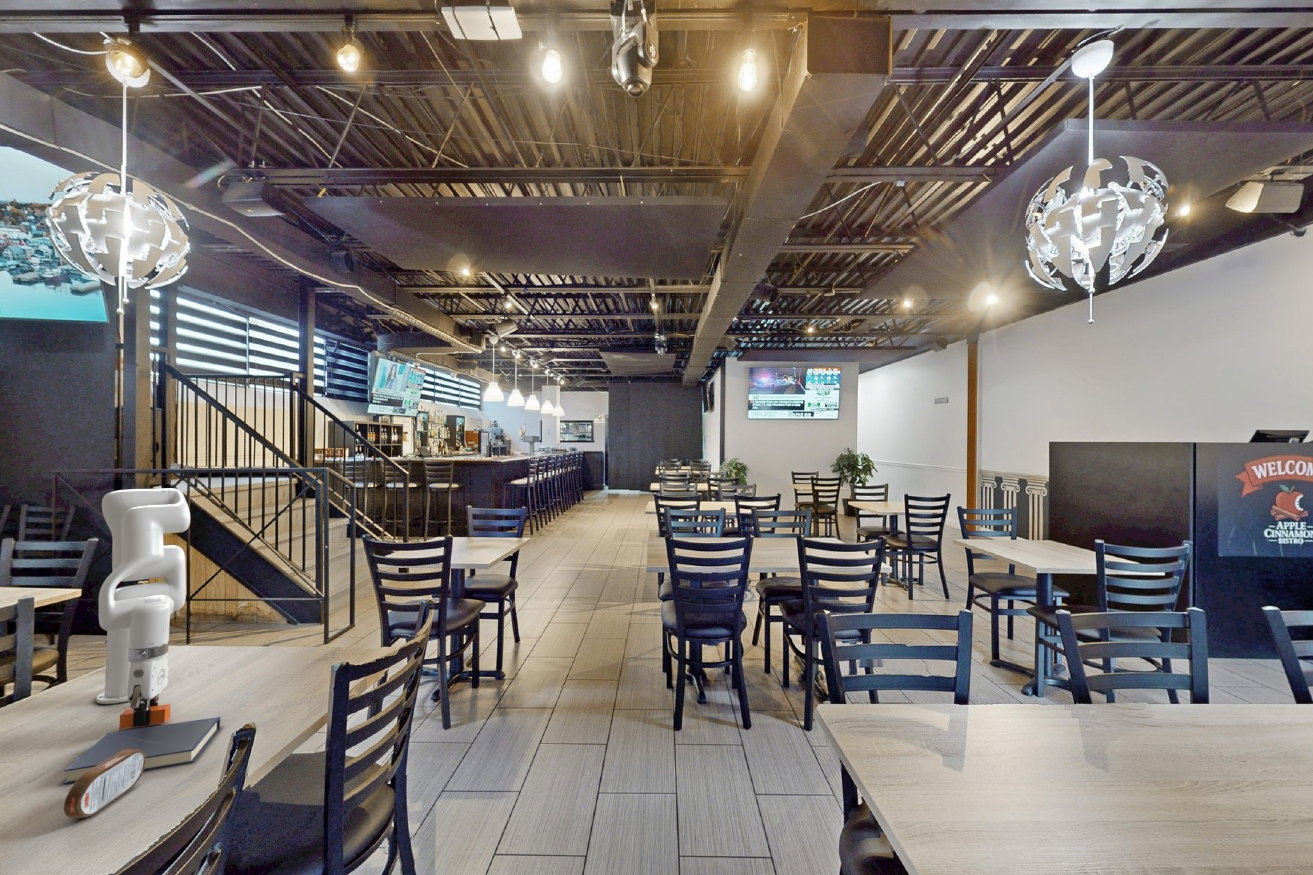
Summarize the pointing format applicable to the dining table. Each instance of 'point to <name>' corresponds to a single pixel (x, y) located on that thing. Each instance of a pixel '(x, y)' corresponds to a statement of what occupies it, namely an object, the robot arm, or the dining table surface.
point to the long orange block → (157, 716)
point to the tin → (104, 783)
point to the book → (150, 745)
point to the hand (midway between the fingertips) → (145, 721)
